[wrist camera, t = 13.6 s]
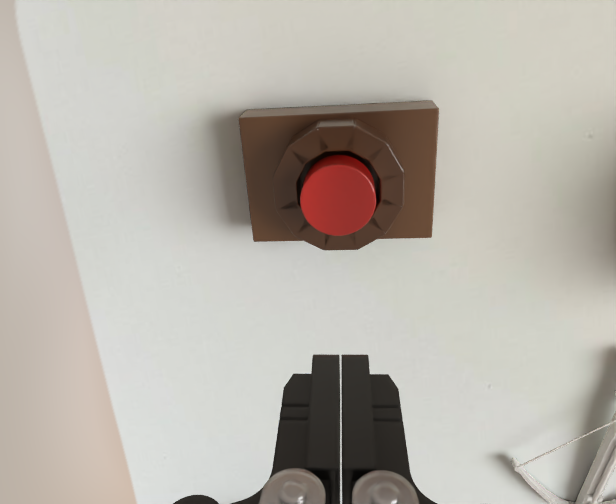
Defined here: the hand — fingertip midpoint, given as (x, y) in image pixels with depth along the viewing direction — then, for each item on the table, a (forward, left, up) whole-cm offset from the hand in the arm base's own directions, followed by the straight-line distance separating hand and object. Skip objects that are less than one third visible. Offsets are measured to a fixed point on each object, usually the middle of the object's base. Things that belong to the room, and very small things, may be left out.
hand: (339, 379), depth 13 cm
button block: (-1, +1, -17) cm, 17 cm away
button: (-1, +1, -13) cm, 13 cm away
